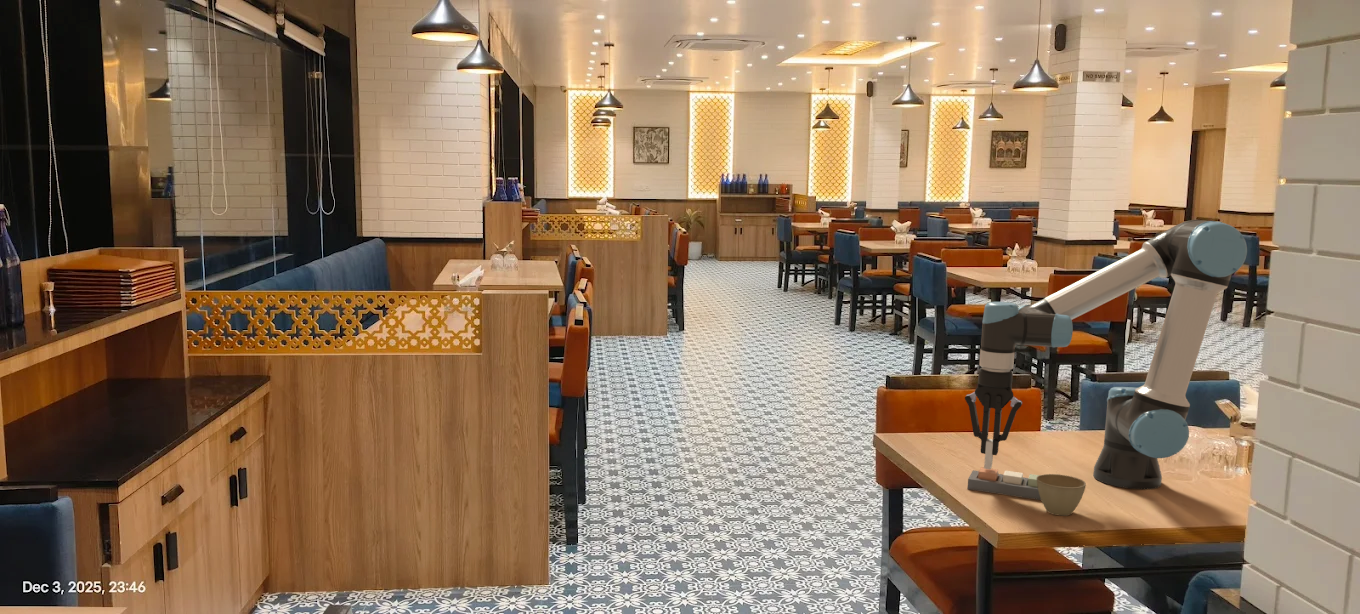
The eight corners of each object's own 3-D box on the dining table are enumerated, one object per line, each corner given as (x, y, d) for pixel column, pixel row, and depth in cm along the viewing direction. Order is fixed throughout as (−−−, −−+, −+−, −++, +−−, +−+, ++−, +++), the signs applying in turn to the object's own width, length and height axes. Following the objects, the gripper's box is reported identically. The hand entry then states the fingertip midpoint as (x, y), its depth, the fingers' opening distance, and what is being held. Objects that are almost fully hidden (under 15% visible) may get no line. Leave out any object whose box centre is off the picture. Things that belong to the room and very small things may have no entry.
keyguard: (1056, 492, 227) (1057, 482, 226) (1054, 502, 219) (1055, 491, 219) (972, 479, 234) (972, 470, 234) (967, 488, 227) (968, 478, 227)
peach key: (997, 479, 230) (998, 469, 230) (995, 484, 226) (996, 473, 226) (980, 477, 232) (980, 467, 231) (977, 481, 228) (978, 471, 228)
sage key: (1047, 487, 225) (1048, 476, 225) (1045, 491, 222) (1046, 481, 222) (1028, 484, 227) (1029, 473, 227) (1027, 489, 223) (1028, 478, 223)
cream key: (1022, 483, 228) (1023, 473, 227) (1020, 488, 224) (1021, 477, 224) (1004, 480, 229) (1005, 470, 229) (1002, 485, 226) (1003, 474, 225)
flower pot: (1071, 504, 218) (1073, 473, 217) (1091, 520, 208) (1094, 488, 207) (1027, 504, 218) (1029, 473, 217) (1045, 519, 208) (1047, 487, 207)
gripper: (1027, 369, 226) (1018, 467, 229) (969, 363, 232) (961, 459, 235) (1024, 374, 219) (1015, 476, 223) (964, 368, 225) (957, 467, 228)
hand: (988, 467), depth 229 cm, fingers closed
